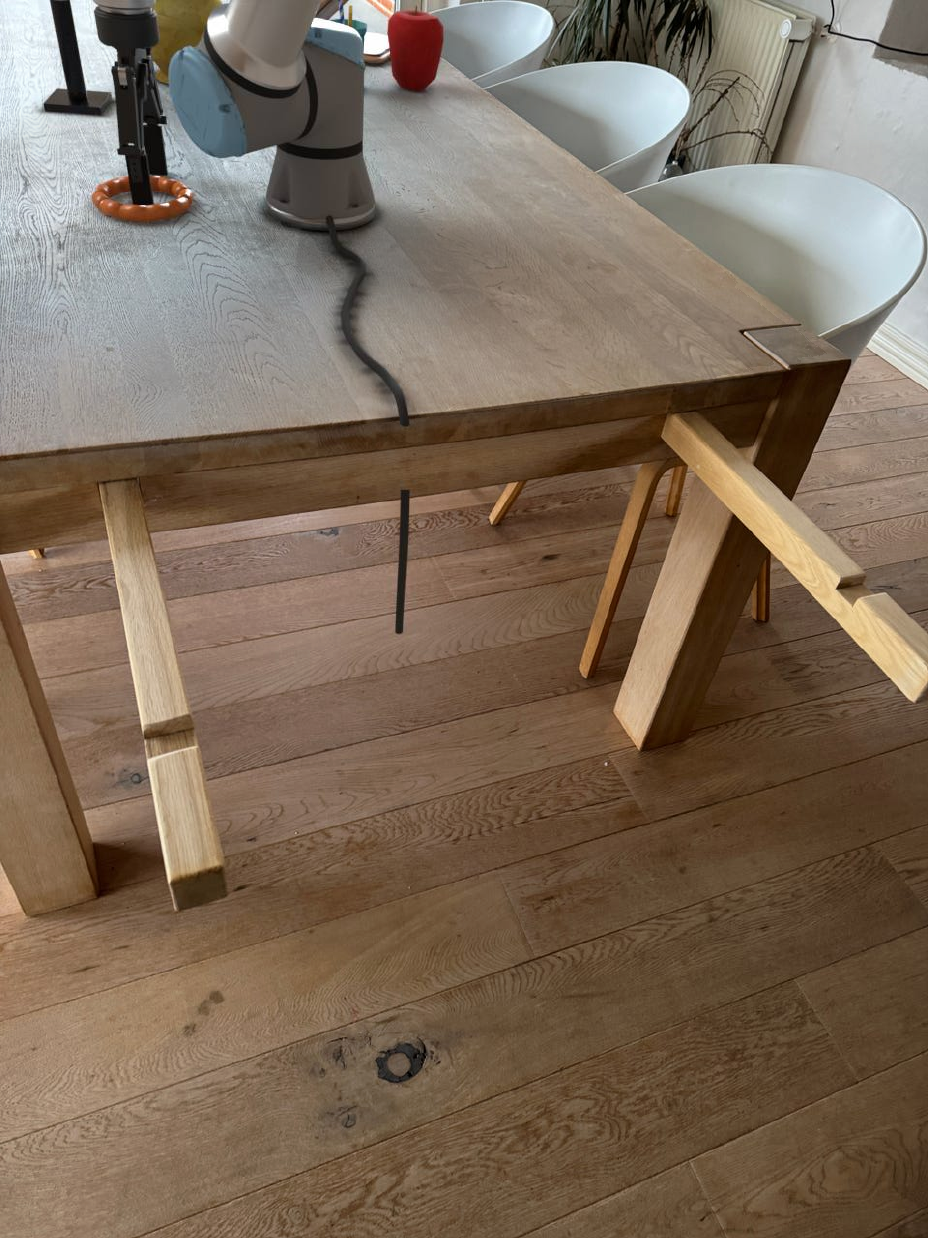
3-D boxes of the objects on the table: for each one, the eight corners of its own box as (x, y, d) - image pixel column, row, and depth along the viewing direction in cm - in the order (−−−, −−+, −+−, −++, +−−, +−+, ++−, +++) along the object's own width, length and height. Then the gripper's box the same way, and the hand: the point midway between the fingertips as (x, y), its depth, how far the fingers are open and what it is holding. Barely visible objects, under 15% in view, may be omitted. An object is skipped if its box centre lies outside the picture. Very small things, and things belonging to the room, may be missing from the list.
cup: (315, 77, 178) (313, -15, 167) (353, 76, 180) (353, -15, 170) (337, 98, 169) (336, 2, 158) (377, 97, 171) (379, 3, 161)
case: (321, 32, 204) (319, -56, 193) (410, 47, 201) (413, -42, 190) (284, 51, 189) (279, -43, 178) (379, 67, 187) (381, -27, 175)
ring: (186, 226, 121) (184, 211, 120) (84, 220, 120) (81, 204, 119) (199, 191, 131) (197, 176, 129) (105, 185, 129) (103, 170, 128)
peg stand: (101, 115, 151) (82, 6, 140) (44, 111, 150) (21, 1, 139) (112, 99, 157) (95, -6, 146) (58, 95, 156) (37, -11, 145)
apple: (450, 89, 180) (455, 8, 170) (415, 97, 174) (419, 13, 164) (410, 76, 184) (413, -4, 175) (375, 83, 178) (377, 1, 169)
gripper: (112, -16, 122) (139, 158, 137) (70, 26, 105) (106, 219, 120) (170, -11, 123) (190, 162, 138) (138, 31, 106) (164, 222, 121)
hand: (151, 189), depth 129 cm, fingers open, 11 cm apart
